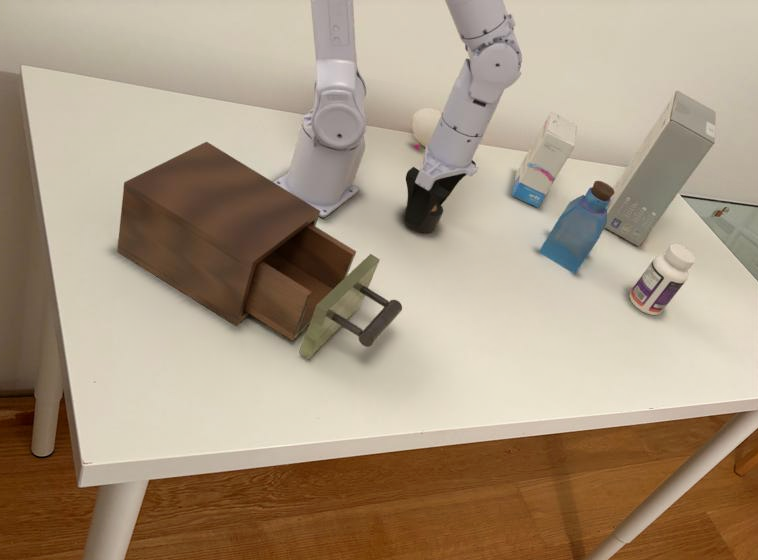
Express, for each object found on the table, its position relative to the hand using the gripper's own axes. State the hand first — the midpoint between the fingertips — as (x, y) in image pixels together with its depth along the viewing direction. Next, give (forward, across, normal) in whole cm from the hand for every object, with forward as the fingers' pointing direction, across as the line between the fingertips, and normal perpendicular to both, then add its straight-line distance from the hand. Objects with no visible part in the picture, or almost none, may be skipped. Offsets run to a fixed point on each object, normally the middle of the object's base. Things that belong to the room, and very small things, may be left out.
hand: (423, 212), depth 97 cm
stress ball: (+2, +21, +8) cm, 23 cm away
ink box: (+2, +25, -9) cm, 27 cm away
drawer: (+1, -28, +2) cm, 28 cm away
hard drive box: (+2, +35, -25) cm, 43 cm away
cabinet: (+2, -28, +13) cm, 31 cm away
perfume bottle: (+2, +13, -19) cm, 23 cm away
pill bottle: (+2, +13, -33) cm, 36 cm away
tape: (+2, 0, 0) cm, 2 cm away
